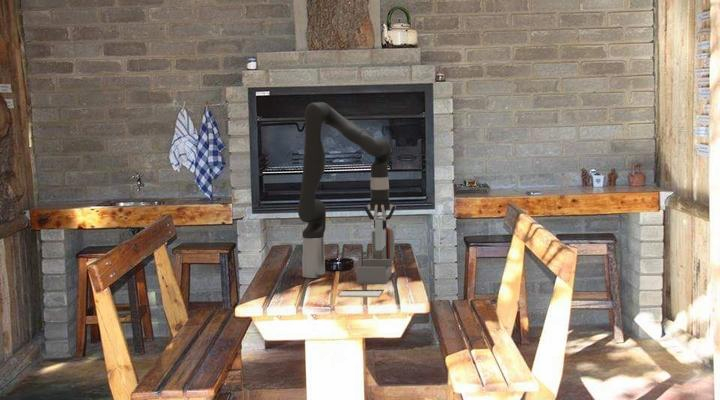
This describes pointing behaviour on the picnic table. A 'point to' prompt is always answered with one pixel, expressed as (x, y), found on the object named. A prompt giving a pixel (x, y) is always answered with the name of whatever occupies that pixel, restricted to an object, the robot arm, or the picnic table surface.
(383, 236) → the grey flat slab
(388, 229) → the decorative stone tablet
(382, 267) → the rack
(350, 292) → the mat
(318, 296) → the picnic table surface
